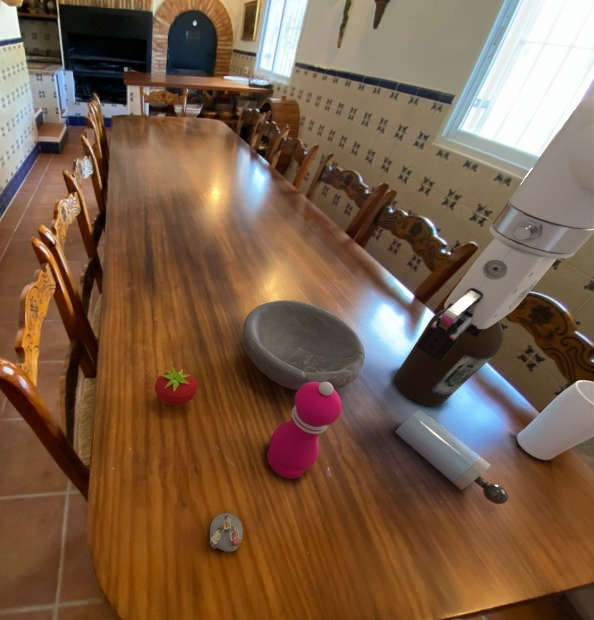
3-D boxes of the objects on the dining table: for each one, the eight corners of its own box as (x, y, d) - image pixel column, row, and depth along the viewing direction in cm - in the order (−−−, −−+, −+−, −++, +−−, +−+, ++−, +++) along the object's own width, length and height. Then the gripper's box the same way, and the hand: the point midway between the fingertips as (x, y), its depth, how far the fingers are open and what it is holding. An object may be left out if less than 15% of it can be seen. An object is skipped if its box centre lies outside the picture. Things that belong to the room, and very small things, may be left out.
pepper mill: (262, 437, 62) (296, 359, 49) (304, 444, 62) (349, 367, 49) (265, 478, 57) (304, 402, 44) (311, 486, 56) (364, 412, 43)
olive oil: (380, 371, 76) (446, 274, 60) (420, 364, 78) (494, 269, 62) (417, 414, 68) (505, 315, 52) (460, 404, 71) (557, 308, 55)
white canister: (409, 423, 66) (501, 500, 57) (390, 437, 64) (482, 520, 54) (426, 404, 63) (528, 483, 53) (406, 418, 60) (509, 504, 50)
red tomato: (195, 418, 64) (203, 383, 58) (154, 419, 63) (156, 384, 57) (191, 391, 69) (198, 356, 62) (152, 392, 68) (154, 356, 62)
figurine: (228, 512, 52) (235, 494, 49) (248, 541, 50) (258, 524, 46) (199, 533, 50) (205, 516, 46) (219, 565, 47) (227, 550, 43)
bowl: (342, 343, 82) (359, 310, 76) (351, 426, 65) (375, 392, 59) (242, 319, 86) (251, 286, 80) (227, 391, 69) (237, 356, 63)
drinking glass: (557, 447, 65) (631, 397, 55) (555, 473, 61) (635, 424, 51) (512, 423, 68) (575, 372, 58) (507, 446, 64) (574, 395, 54)
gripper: (549, 265, 32) (442, 384, 43) (610, 228, 40) (505, 338, 51) (462, 228, 37) (386, 344, 48) (531, 202, 44) (451, 307, 55)
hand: (447, 341), depth 49 cm, fingers open, 9 cm apart
